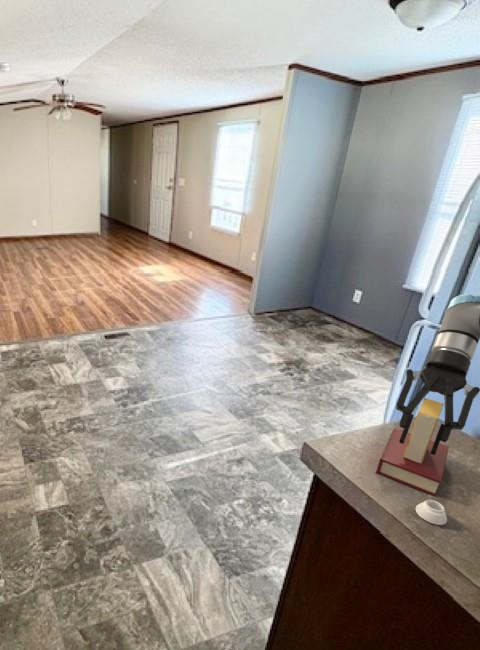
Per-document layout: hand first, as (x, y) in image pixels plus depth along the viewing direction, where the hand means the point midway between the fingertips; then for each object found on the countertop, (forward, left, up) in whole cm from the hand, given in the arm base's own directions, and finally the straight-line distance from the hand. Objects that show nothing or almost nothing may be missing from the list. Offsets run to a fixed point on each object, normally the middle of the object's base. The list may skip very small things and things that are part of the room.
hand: (417, 446), depth 93 cm
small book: (-2, -3, -4) cm, 5 cm away
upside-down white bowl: (+1, +13, -8) cm, 15 cm away
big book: (-2, -3, -8) cm, 8 cm away
